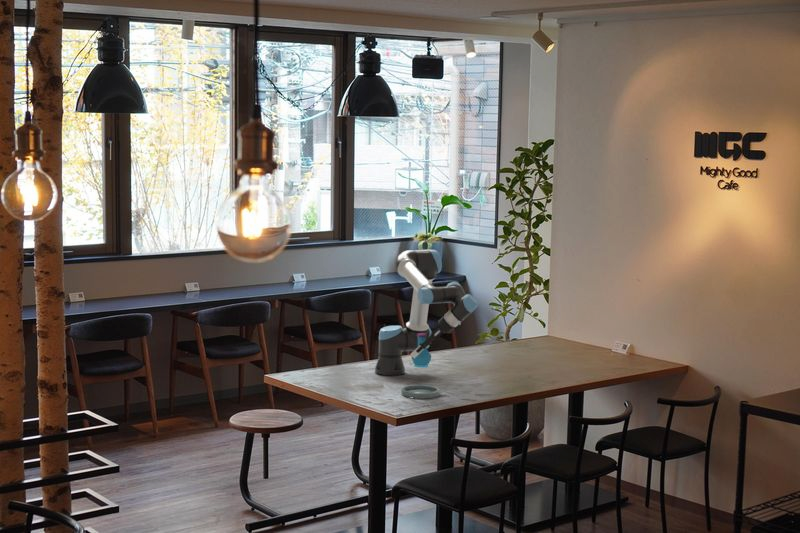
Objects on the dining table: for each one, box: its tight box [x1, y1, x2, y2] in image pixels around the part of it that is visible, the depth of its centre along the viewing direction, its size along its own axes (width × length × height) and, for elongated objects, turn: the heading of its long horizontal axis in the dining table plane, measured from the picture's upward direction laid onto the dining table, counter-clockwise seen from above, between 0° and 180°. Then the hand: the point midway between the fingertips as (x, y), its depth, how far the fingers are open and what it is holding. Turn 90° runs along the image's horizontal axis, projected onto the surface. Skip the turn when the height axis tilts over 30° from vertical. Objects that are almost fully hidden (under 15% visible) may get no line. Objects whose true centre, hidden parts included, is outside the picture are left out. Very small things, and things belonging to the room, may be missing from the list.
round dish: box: [400, 384, 441, 399], centre depth 475 cm, size 17×17×2 cm
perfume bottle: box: [410, 333, 432, 368], centre depth 473 cm, size 9×9×15 cm
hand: (414, 354), depth 474 cm, fingers closed on perfume bottle, 9 cm apart
